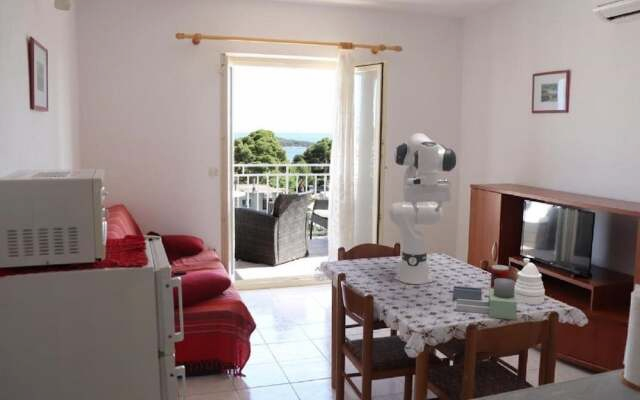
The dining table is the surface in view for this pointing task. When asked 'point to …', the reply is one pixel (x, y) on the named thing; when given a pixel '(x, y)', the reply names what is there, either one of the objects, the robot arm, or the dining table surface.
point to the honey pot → (529, 285)
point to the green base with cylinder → (494, 301)
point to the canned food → (498, 273)
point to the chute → (467, 293)
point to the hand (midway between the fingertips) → (426, 211)
